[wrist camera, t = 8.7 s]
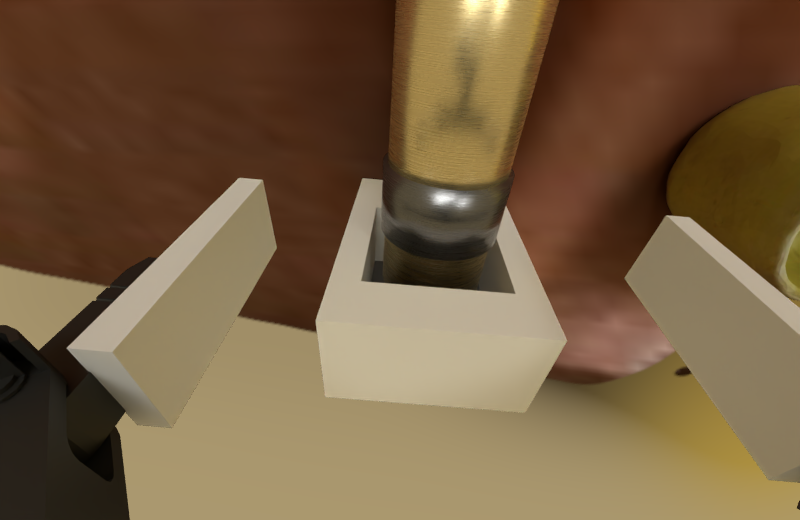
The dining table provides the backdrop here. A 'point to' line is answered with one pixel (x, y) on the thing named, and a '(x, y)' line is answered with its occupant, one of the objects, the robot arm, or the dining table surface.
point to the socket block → (434, 326)
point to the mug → (747, 184)
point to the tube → (455, 132)
